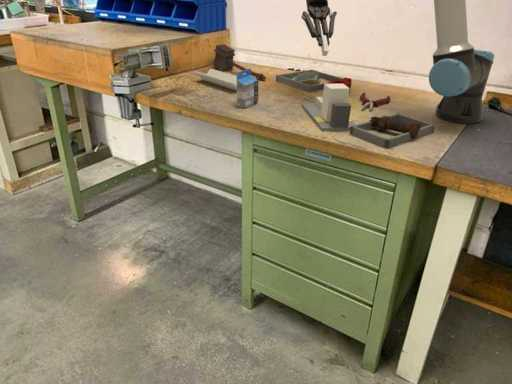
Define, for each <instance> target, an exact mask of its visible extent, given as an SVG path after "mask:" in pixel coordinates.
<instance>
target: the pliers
mask: <svg viewBox="0 0 512 384" xmlns="http://www.w3.org/2000/svg"><path fill="white" fill-rule="evenodd" d="M366 95H367V92H362V93H361V94H360V96H359V100H360V101H361V103H362V104H361V105H362V108H361V111H364V110H367V109H368V107H369V111H372V110H373V108H379V106H384V104H385V105H388V104H390V101H391V100H392V99H391V96H390V95H386V97H384V98H380V99H375V100H370V99H369V98H368V97H366ZM363 105H364V106H363Z"/></svg>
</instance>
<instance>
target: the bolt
mask: <svg viewBox="0 0 512 384" xmlns="http://www.w3.org/2000/svg"><path fill="white" fill-rule="evenodd" d="M369 119H370V120H369V121H371V122H372V126H373V127H377V128H378V129H379V131H380V132H386V131H392V132H396V133H400V134H404V133H407V132H408V133H410V135H411V139H412V140H411V141H413V140H416V139H417V138H416V137H417V136H418V131H419V130H420V122H419V121H414V122H412V124H410V123H404V122H399V121H394V120H390V118H389V115H383V116H381V117H380V116H379V117H378V116H372V117H370V118H369Z"/></svg>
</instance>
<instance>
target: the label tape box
mask: <svg viewBox="0 0 512 384" xmlns="http://www.w3.org/2000/svg"><path fill="white" fill-rule="evenodd" d="M246 69H247V70H243V71H242V70H240V71H237V73H236V76H237V91H236V108H241V109H247V108H249V107H252V106H254V105H255V104H258V103H259V79H258V78H256V77H254V76H252V75H250V72H251V71H252V68H246ZM243 74H244V75H243Z"/></svg>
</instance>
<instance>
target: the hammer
mask: <svg viewBox="0 0 512 384" xmlns="http://www.w3.org/2000/svg"><path fill="white" fill-rule="evenodd" d="M213 52H215V56H214V59H213V60H212V63H213V65H212V66H213V67H214V68H215V69H216V70H217V69H218V71H221V72H224V73H225V72H230V71H233V69H234V67H235V68H237V69H239V70H240V71H243V70H247V69H248V68H246V67H244V66H242V65H240V64H238V63H235V61H234V57H236V53H235V49H233V48H232V47H230V46H228V45H226V44H225V43H224V44H216V46H215V48H214V50H213ZM250 75H251V76H252V77H254V78H255V79H257V80H258V81H264V82H266V80H267V76H265V75H264V73H261V72H260V73H259V72H255V71H252V70H251V72H250Z"/></svg>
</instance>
